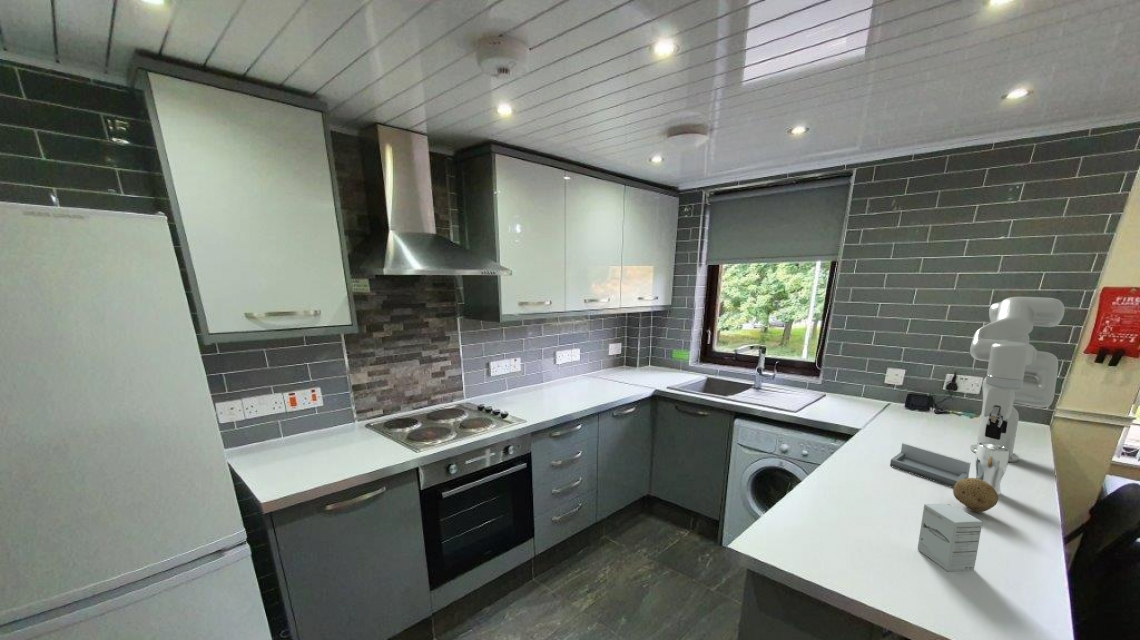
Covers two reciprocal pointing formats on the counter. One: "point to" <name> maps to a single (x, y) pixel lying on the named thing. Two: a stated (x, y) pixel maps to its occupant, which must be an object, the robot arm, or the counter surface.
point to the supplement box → (949, 536)
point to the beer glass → (991, 464)
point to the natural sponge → (975, 494)
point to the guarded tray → (931, 465)
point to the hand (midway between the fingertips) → (995, 434)
